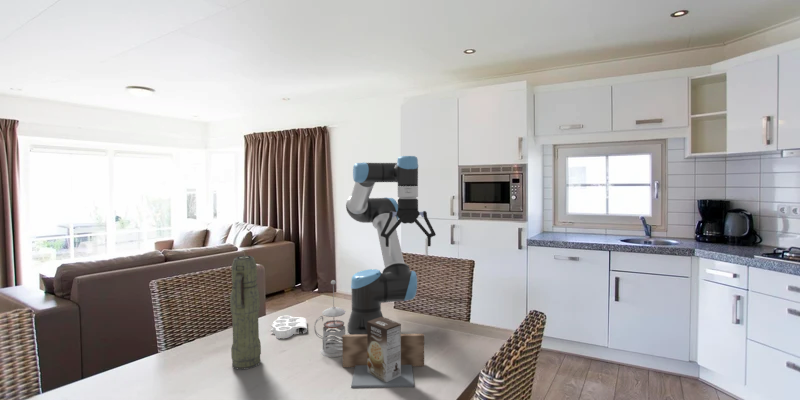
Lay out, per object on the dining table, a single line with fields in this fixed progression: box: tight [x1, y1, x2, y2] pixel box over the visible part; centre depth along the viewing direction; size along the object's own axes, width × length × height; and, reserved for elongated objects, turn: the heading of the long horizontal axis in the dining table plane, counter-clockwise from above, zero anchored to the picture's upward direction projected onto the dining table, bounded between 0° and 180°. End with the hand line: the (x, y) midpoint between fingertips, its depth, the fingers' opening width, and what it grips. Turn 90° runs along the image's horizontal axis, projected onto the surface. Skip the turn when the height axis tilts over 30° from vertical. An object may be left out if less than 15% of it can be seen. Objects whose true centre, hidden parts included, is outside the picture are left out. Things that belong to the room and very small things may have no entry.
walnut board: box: [341, 333, 425, 368], centre depth 128 cm, size 26×2×10 cm, turn 91°
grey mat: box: [350, 365, 415, 389], centre depth 122 cm, size 18×13×1 cm
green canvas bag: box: [229, 255, 262, 370], centre depth 130 cm, size 9×12×35 cm
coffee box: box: [367, 316, 402, 382], centre depth 121 cm, size 9×6×16 cm
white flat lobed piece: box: [268, 315, 308, 339], centre depth 161 cm, size 3×18×15 cm
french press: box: [313, 279, 346, 358], centre depth 140 cm, size 10×12×25 cm
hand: (408, 255), depth 149 cm, fingers open, 13 cm apart
